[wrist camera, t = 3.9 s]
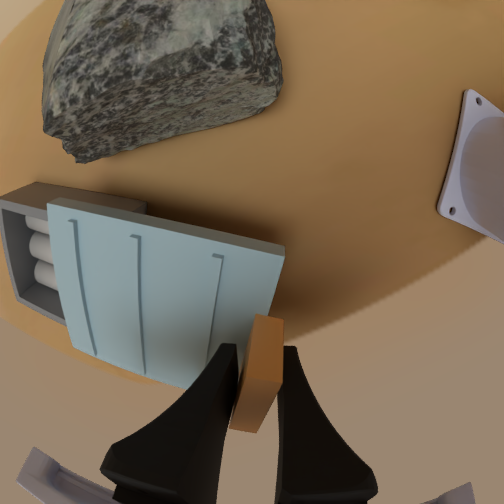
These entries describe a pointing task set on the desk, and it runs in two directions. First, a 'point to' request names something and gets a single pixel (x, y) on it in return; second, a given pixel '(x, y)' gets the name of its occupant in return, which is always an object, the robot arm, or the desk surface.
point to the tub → (42, 240)
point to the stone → (155, 70)
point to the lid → (169, 298)
